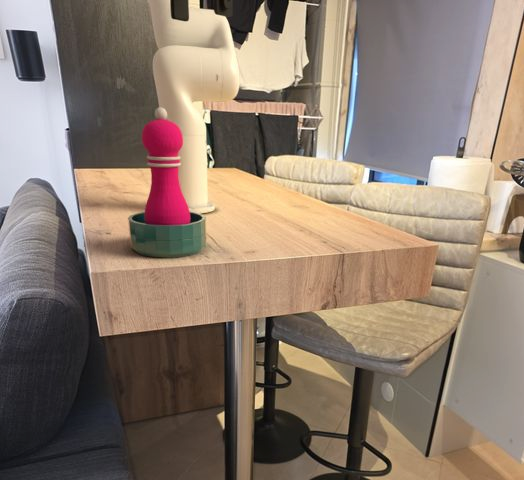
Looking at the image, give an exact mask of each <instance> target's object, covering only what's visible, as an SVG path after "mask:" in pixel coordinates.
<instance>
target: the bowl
mask: <svg viewBox="0 0 524 480" xmlns="http://www.w3.org/2000/svg"><path fill="white" fill-rule="evenodd" d="M127 224H128V233H129V243H130V247H131V249H132V250H134V251H135V252H136V253H138V254H139V255H141V256H147V257H152V258H162V259H163V258H164V259H165V258H166V259H167V258H169V259H172V258H182V257H190V256H193V255H196V254H199V253H201V252H202V251H203V250H204V249H205V248H206V247H207V244H208V241H207V239H208V238H207V217H206V216H205V215H204V214H203V213H202V214H199V213H195V212H190V223H189V224H181V225H152V224H146V222H145V211H141V212H136V213H133V214H130V215H129V216H128V217H127Z"/></svg>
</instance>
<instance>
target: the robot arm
mask: <svg viewBox="0 0 524 480" xmlns="http://www.w3.org/2000/svg"><path fill="white" fill-rule="evenodd" d="M146 2H147V4H148V6H149V10H150V17H151V23H152V28H153V29H152V30H153V36H154V41H155V43H156V47H157V49H158V50H156V51H155V53H154V55H153V59H152V75H153V80H154V84H155V85H154V86H155V90H156V95H157V101H158V108H159V107H162V108H164V109H165V110H166V112H167V118H166V119H165V120H168V121H171V122H173V123H175V124H176V125H177V126H178V127H179V128H180V130H181V133H182V137H183V145H182V148H181V149H180V151H179V152H178V156H180V157H181V158H180V159H179V160H180V163H181V165H180V166H178V177H179V184H180V188H181V191H182V194H183V196H184V198H185V200H186V203H187V205H188V208H189V211H190V212H195V213H199V214H202V215H203V214H208V213H211V212H214V211H215V209H216V205H215V203H214V202H212V201H209V191H208V190H209V189H208V186H209V185H208V146H207V144H208V143H207V125H206V122H205V120H204V118H203V116H202V115H201V114H200V113H201V112H199V111H198V109H197V108H196V106H195V105H194V102H197V103H198V102H211V103H212V102H213V103H226V102H230V101H233V100H234V99H235V98H236V97H237V95H238V93H239V90H240V85H241V84H240V82H241V79H240V78H241V77H240V66H239V63H238V57H237V52H236V49H235V43H234V39H233V35H232V30H231V27H230V23H229V21H228V19H227V18H231V17H233V14H234V13H233V12H234V11H233V9H234V7H233V6H234V5H233V3H234V0H213V9H209V8H207V9H206V8H198V7H192V6H191V5H190V0H146Z"/></svg>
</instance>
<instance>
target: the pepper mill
mask: <svg viewBox="0 0 524 480" xmlns="http://www.w3.org/2000/svg"><path fill="white" fill-rule="evenodd" d="M154 117H155V119H153V120H150V121H149V122H147V123H145V125H144V127H143V129H142V132H141V143H142V145H143V147H144V148H145V150H146V151H147V153H148V155H147V156H146V158H147V163H146V165H147V166H149V167H150V174H151V178H150V179H151V182H150V183H151V184H150V188H149V193H148V197H147V200H146V204H145V208H144V212H145V222H146V224H152V225H181V224H189V223H190V211H189V208H188V205H187V203H186V200H185V198H184V196H183V194H182V191H181V188H180V184H179V177H178V166H180V165H181V163H180V160H179V159H180V158H181V157H180V156H178V152H179V151H180V149H181V148H182V145H183V137H182V133H181V130H180V128H179V127H178V126H177V125H176V124H175V123H173V122H171V121H168V120H165V119H166V118H167V112H166V110H165V109H164V108H162V107H159V106H158V107H157V108H156V109H155V111H154Z"/></svg>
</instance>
